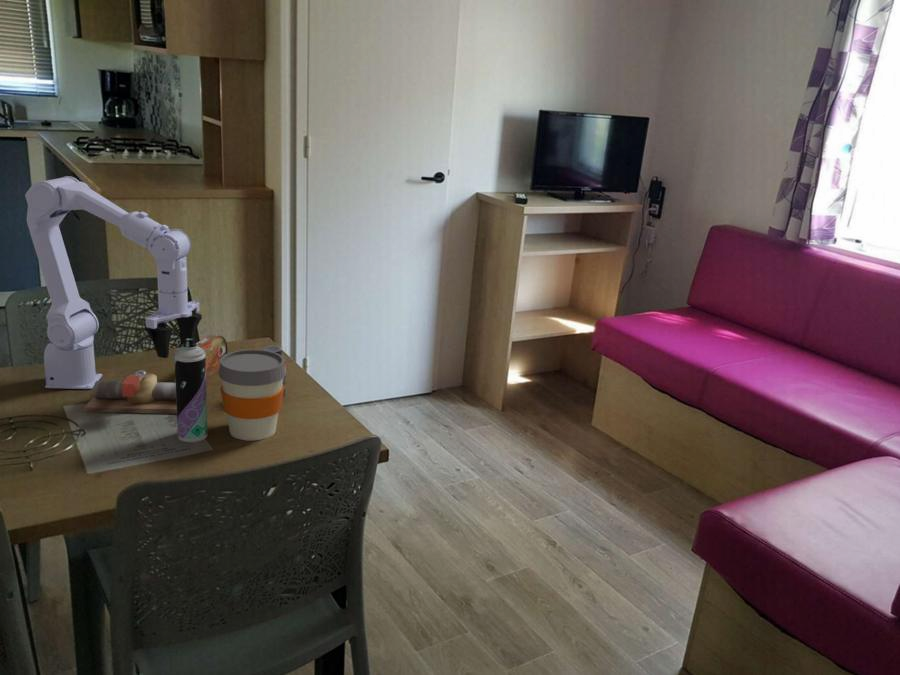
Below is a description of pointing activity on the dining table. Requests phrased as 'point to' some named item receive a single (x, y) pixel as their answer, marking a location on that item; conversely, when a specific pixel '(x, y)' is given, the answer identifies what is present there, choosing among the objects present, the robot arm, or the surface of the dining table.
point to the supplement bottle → (278, 351)
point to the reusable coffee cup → (252, 392)
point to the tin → (213, 352)
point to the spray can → (191, 392)
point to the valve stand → (145, 401)
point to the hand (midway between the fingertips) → (174, 351)
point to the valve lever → (133, 384)
